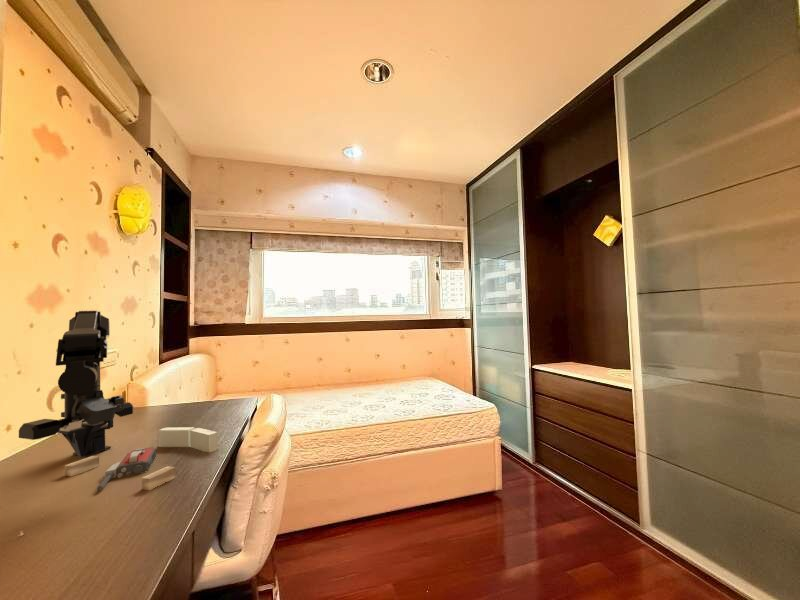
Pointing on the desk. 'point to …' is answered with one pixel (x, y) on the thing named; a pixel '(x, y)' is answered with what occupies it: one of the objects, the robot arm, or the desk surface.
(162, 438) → the white long angled block
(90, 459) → the guide blocks
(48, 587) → the desk surface
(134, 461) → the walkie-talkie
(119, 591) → the desk surface
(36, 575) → the desk surface
